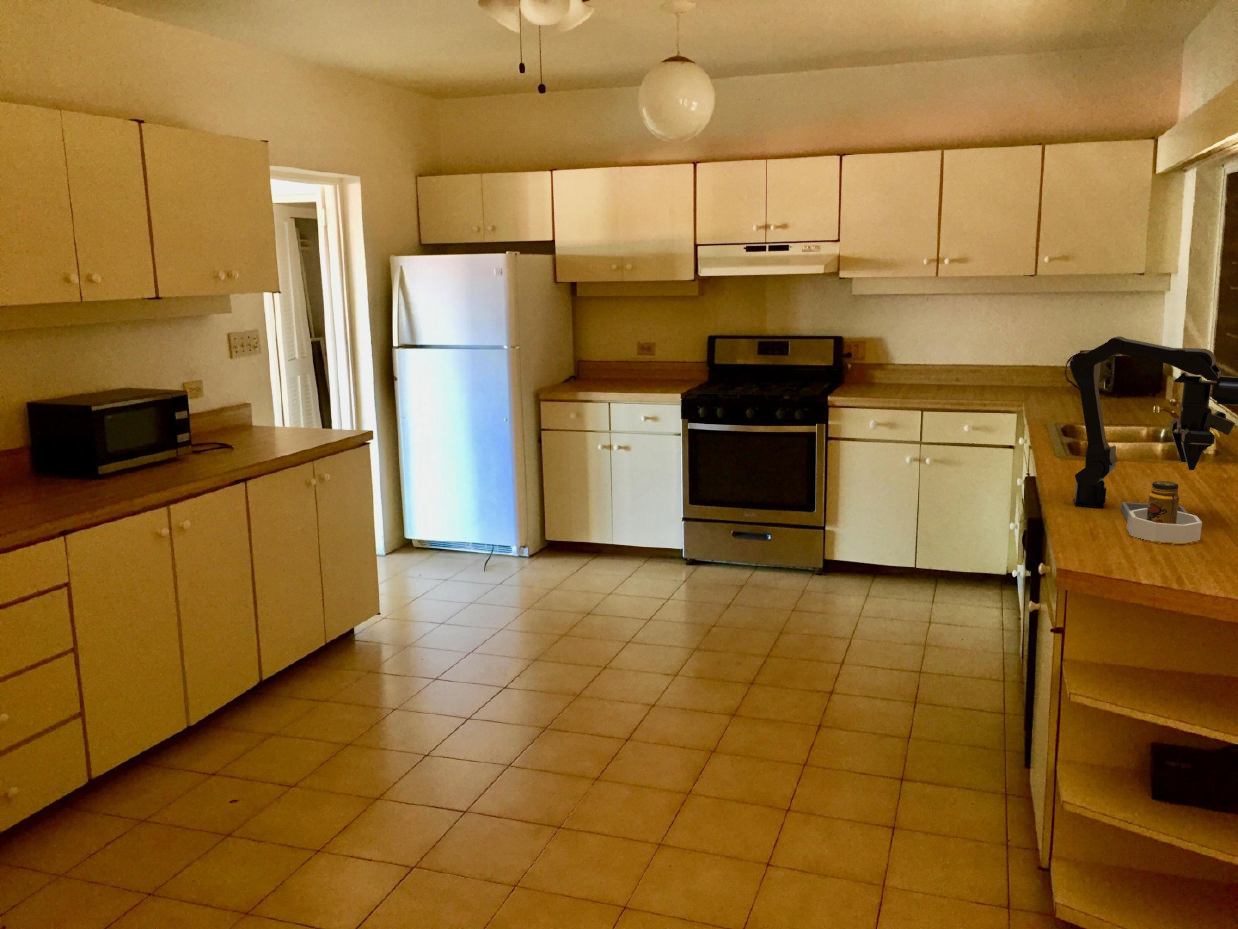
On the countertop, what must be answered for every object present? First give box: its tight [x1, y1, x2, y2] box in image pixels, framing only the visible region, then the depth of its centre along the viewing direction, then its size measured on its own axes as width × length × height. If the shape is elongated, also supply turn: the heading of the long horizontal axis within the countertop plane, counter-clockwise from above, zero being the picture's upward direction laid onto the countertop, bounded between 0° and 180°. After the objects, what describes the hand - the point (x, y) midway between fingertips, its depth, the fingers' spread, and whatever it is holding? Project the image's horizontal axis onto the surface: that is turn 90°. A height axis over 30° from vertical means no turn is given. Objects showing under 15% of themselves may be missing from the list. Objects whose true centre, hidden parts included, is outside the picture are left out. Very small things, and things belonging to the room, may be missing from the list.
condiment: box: [1147, 480, 1180, 524], centre depth 224 cm, size 7×8×12 cm
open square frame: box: [1120, 501, 1190, 522], centre depth 238 cm, size 14×14×2 cm
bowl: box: [1126, 508, 1203, 543], centre depth 224 cm, size 14×14×4 cm
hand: (1187, 465), depth 236 cm, fingers open, 9 cm apart
